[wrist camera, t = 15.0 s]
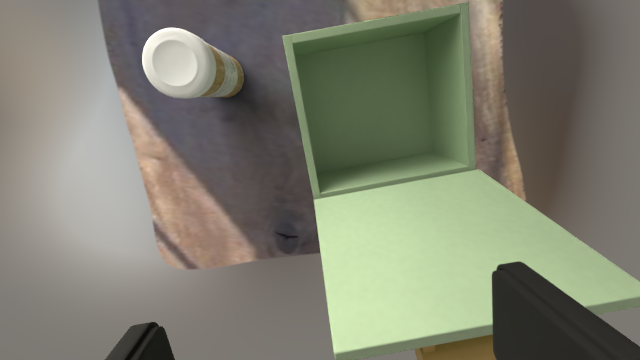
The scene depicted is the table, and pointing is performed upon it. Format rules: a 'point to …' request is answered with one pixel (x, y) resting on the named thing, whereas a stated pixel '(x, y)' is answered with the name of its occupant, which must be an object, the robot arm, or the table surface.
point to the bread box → (384, 100)
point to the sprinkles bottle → (189, 66)
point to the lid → (444, 265)
